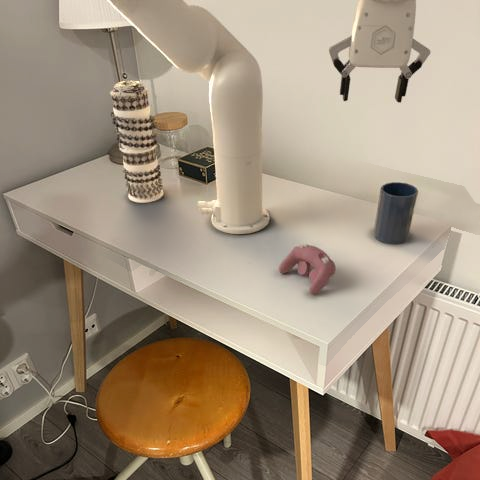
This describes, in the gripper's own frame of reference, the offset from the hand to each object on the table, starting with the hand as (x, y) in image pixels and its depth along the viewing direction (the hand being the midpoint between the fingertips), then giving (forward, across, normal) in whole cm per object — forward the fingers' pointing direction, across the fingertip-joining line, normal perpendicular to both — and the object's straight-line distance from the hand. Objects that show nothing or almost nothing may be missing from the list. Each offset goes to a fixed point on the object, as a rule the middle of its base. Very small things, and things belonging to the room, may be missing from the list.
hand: (371, 99), depth 89 cm
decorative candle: (+26, -48, +10) cm, 56 cm away
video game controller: (+25, -10, -24) cm, 36 cm away
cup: (+24, +7, -7) cm, 26 cm away
